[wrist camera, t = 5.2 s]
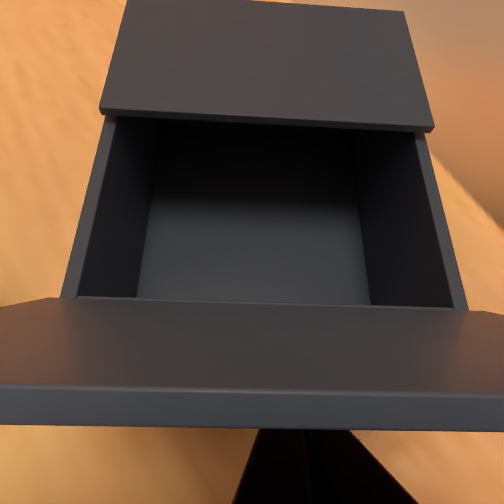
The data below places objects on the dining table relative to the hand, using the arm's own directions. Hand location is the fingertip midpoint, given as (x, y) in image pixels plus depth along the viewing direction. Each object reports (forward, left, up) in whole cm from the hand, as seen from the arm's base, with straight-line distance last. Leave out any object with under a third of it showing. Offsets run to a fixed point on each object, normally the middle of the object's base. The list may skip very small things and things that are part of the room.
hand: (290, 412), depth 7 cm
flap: (+1, +1, 0) cm, 2 cm away
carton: (+4, +10, -11) cm, 15 cm away
